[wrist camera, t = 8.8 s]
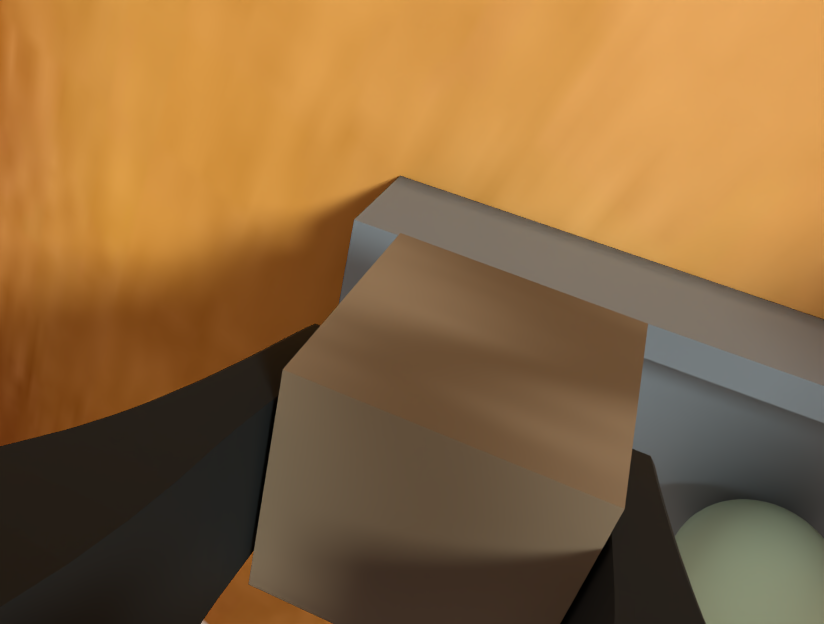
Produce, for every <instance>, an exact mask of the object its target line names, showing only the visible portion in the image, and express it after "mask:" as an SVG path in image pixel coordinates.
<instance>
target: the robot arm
mask: <svg viewBox="0 0 824 624" xmlns="http://www.w3.org/2000/svg"><path fill="white" fill-rule="evenodd" d="M319 327H320V325H317V324H313V325H311V326H309V327H307V328H305V329H303V330H301V331H299V332H297V333H295V334H293V335H291V336H289V337H287V338H285V339H283V340H281V341H279V342H277V343H275V344H273V345H271V346H270V347H268V348H266V349H264V350H262V351H260V352H258V353H256V354H254V355H252V356H250V357H248V358H246V359H244V360H242V361H240V362H238V363H236V364H234V365H231V366H229V367H227V368H225V369H223V370H221V371H219V372H217V373H215V374H213V375H211V376H208V377H206V378H204V379H202V380H200V381H198V382H195V383H193V384H191V385H188V386H186V387H183V388H181V389H179V390H176V391H174V392H172V393H169V394H167V395H164V396H162V397H160V398H157V399H155V400H152V401H150V402H147V403H145V404H142V405H140V406H137V407H134V408H132V409H129V410H126V411H123V412H121V413H118V414H115V415H112V416H109V417H106V418H102V419H99V420H96V421H93V422H90V423H87V424H84V425H81V426H77V427H74V428H70V429H67V430H63V431H59V432H55V433H51V434H48V435H44V436H40V437H36V438H32V439H28V440H24V441H20V442H16V443H12V444H8V445H4V446H0V624H201V622H202V621H203V619H204V618H205V616H206V615H207V614H208V612H209V611H210V609H211V608H212V606H213V605H214V603H215V602H216V600H217V599H218V598H219V596H220V595H221V594H222V592H223V591H224V590H225V588H226V587H227V586H228V584H229V583H230V582H231V580H232V579H233V578H234V576H235V575H236V574H237V572H238V571H239V570H240V568H241V567H242V566H243V564H244V563H245V562H246V560H247V559H248V558H249V556H250V555H251V554H252V552H253V551H254V547H255V541H256V534H257V528H258V522H259V516H260V509H261V503H262V497H263V491H264V484H265V478H266V472H267V465H268V459H269V453H270V447H271V440H272V434H273V428H274V422H275V415H276V409H277V403H278V396H279V390H280V384H281V378H282V371H283V369H284V367H285V366H286V365H287V364H288V363H289V362H290V361H291V359H292V358H293V357H294V356H295V355H296V354H297V352H298V351H299V350H300V349H301V348H302V347H303V345H304V344H305V343H306V342H307V341H308V340H309V338H310V337H311V336H312V335H313V334H314V333H315V332H316V330H317V329H318V328H319ZM560 624H706V622H705V620H704V618H703V615H702V612H701V610H700V607H699V605H698V602H697V599H696V597H695V594H694V592H693V589H692V586H691V583H690V580H689V577H688V574H687V572H686V569H685V566H684V563H683V560H682V557H681V555H680V552H679V549H678V545H677V542H676V539H675V536H674V533H673V530H672V526H671V523H670V520H669V516H668V513H667V510H666V506H665V502H664V499H663V495H662V492H661V488H660V484H659V480H658V476H657V472H656V468H655V464H654V462H653V460H652V458H651V456H650V455H647V454H645V453H642V452H640V451H637V450H635V449H632V455H631V463H630V471H629V478H628V486H627V494H626V502H625V509H624V511H623V513H622V515H621V516H620V518H619V520H618V522H617V523H616V525H615V527H614V529H613V531H612V532H611V534H610V536H609V538H608V539H607V541H606V543H605V545H604V547H603V548H602V550H601V552H600V554H599V556H598V557H597V559H596V561H595V563H594V564H593V566H592V568H591V570H590V572H589V573H588V575H587V577H586V579H585V580H584V582H583V584H582V586H581V588H580V589H579V591H578V593H577V595H576V596H575V598H574V600H573V602H572V604H571V605H570V607H569V609H568V611H567V613H566V614H565V616H564V618H563V620H562V621H561V623H560Z"/></svg>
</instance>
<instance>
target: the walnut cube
mask: <svg viewBox="0 0 824 624" xmlns="http://www.w3.org/2000/svg"><path fill="white" fill-rule="evenodd" d="M647 329H648V323H645V322H642V321H640V320H637V319H634V318H631V317H629V316H626V315H623V314H620V313H618V312H615V311H612V310H609V309H607V308H604V307H601V306H599V305H596V304H593V303H590V302H588V301H585V300H582V299H579V298H577V297H574V296H571V295H569V294H566V293H563V292H560V291H558V290H555V289H552V288H549V287H547V286H544V285H541V284H539V283H536V282H533V281H530V280H528V279H525V278H522V277H519V276H517V275H514V274H511V273H509V272H506V271H503V270H500V269H498V268H495V267H492V266H489V265H487V264H484V263H481V262H479V261H476V260H473V259H470V258H468V257H465V256H462V255H459V254H457V253H454V252H451V251H448V250H446V249H443V248H440V247H438V246H435V245H432V244H429V243H427V242H424V241H421V240H418V239H416V238H413V237H410V236H408V235H405V234H402V233H400V234H399V235H398V236H397V237H396V239H395V240H394V241H393V242H392V243H391V244H390V246H389V247H388V248H387V249H386V250H385V251H384V253H383V254H382V255H381V256H380V257H379V258H378V260H377V261H376V262H375V263H374V264H373V265H372V267H371V268H370V269H369V270H368V271H367V272H366V273H365V275H364V276H363V277H362V278H361V279H360V280H359V282H358V283H357V284H356V285H355V286H354V287H353V289H352V290H351V291H350V292H349V293H348V294H347V296H346V297H345V298H344V299H343V300H342V301H341V302H340V304H339V305H338V306H337V307H336V308H335V309H334V311H333V312H332V313H331V314H330V315H329V316H328V318H327V319H326V320H325V321H324V322H323V323H322V325H321V326H320V327H319V328H318V329H317V330H316V332H315V333H314V334H313V335H312V336H311V337H310V338H309V340H308V341H307V342H306V343H305V344H304V345H303V347H302V348H301V349H300V350H299V351H298V352H297V354H296V355H295V356H294V357H293V358H292V359H291V361H290V362H289V363H288V364H287V365H286V366H285V367H284V369H283V371H282V378H281V384H280V390H279V396H278V403H277V409H276V415H275V422H274V428H273V434H272V440H271V447H270V453H269V459H268V465H267V472H266V478H265V484H264V491H263V497H262V503H261V509H260V516H259V522H258V528H257V534H256V541H255V547H254V553H253V560H252V566H251V572H250V578H249V585H251V586H253V587H255V588H257V589H260V590H262V591H264V592H266V593H268V594H270V595H273V596H275V597H277V598H279V599H281V600H283V601H286V602H288V603H290V604H292V605H294V606H296V607H299V608H301V609H303V610H305V611H307V612H309V613H312V614H314V615H316V616H318V617H320V618H322V619H325V620H327V621H329V622H331V623H333V624H560V623H561V621H562V620H563V618H564V616H565V614H566V613H567V611H568V609H569V607H570V605H571V604H572V602H573V600H574V598H575V596H576V595H577V593H578V591H579V589H580V588H581V586H582V584H583V582H584V580H585V579H586V577H587V575H588V573H589V572H590V570H591V568H592V566H593V564H594V563H595V561H596V559H597V557H598V556H599V554H600V552H601V550H602V548H603V547H604V545H605V543H606V541H607V539H608V538H609V536H610V534H611V532H612V531H613V529H614V527H615V525H616V523H617V522H618V520H619V518H620V516H621V515H622V513H623V511H624V509H625V502H626V494H627V486H628V478H629V471H630V463H631V455H632V447H633V439H634V431H635V423H636V415H637V408H638V400H639V392H640V384H641V376H642V368H643V360H644V352H645V344H646V337H647Z"/></svg>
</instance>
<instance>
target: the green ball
mask: <svg viewBox="0 0 824 624" xmlns="http://www.w3.org/2000/svg"><path fill="white" fill-rule="evenodd" d="M675 539H676V542H677V545H678V549H679V552H680V555H681V557H682V560H683V563H684V566H685V569H686V572H687V574H688V577H689V580H690V583H691V586H692V589H693V592H694V594H695V597H696V599H697V602H698V605H699V607H700V610H701V612H702V615H703V618H704V620H705V622H706V624H824V538H823V537H822V536H821V535H820V534H819V533H818V531H817V530H815V529H814V528H813V527H812V526H811V525H810V524H809V523H807V522H806V521H805V520H804V519H802V518H801V517H799V516H798V515H796V514H794V513H793V512H791V511H789V510H787V509H785V508H783V507H780V506H778V505H775V504H771V503H768V502H764V501H758V500H751V499H736V500H728V501H723V502H719V503H715V504H713V505H710V506H708V507H706V508H704V509H702V510H701V511H699V512H697V513H696V514H694V515H693V516H692V517H690V518H689V519H688V520H687V521H686V522H685V524H684V525H683V526H682V527H681V528H680V529H679V531H678V532H677V534H676V535H675Z"/></svg>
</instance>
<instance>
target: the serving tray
mask: <svg viewBox="0 0 824 624" xmlns="http://www.w3.org/2000/svg"><path fill="white" fill-rule="evenodd" d="M400 233H402V234H405V235H408V236H410V237H413V238H416V239H418V240H421V241H424V242H427V243H429V244H432V245H435V246H438V247H440V248H443V249H446V250H448V251H451V252H454V253H457V254H459V255H462V256H465V257H468V258H470V259H473V260H476V261H479V262H481V263H484V264H487V265H489V266H492V267H495V268H498V269H500V270H503V271H506V272H509V273H511V274H514V275H517V276H519V277H522V278H525V279H528V280H530V281H533V282H536V283H539V284H541V285H544V286H547V287H549V288H552V289H555V290H558V291H560V292H563V293H566V294H569V295H571V296H574V297H577V298H579V299H582V300H585V301H588V302H590V303H593V304H596V305H599V306H601V307H604V308H607V309H609V310H612V311H615V312H618V313H620V314H623V315H626V316H629V317H631V318H634V319H637V320H640V321H642V322H645V323H648V329H647V337H646V344H645V352H644V360H643V368H642V376H641V384H640V392H639V400H638V408H637V415H636V423H635V431H634V439H633V447H632V449H635V450H637V451H640V452H642V453H645V454H647V455H650V456H651V458H652V460H653V462H654V464H655V468H656V472H657V476H658V480H659V484H660V488H661V492H662V495H663V499H664V502H665V506H666V510H667V513H668V516H669V520H670V523H671V526H672V530H673V533H674V536H675V535H676V534H677V532H678V531H679V529H680V528H681V527H682V526H683V525H684V524H685V522H686V521H687V520H688V519H689V518H690V517H692V516H693V515H694V514H696V513H697V512H699V511H701V510H702V509H704V508H706V507H708V506H710V505H713V504H715V503H719V502H723V501H728V500H736V499H751V500H758V501H764V502H768V503H771V504H775V505H778V506H780V507H783V508H785V509H787V510H789V511H791V512H793V513H794V514H796V515H798V516H799V517H801V518H802V519H804V520H805V521H806V522H807V523H809V524H810V525H811V526H812V527H813V528H814V529H815V530H817V531H818V533H819V534H820V535H821V536H822V537H823V538H824V319H821V318H818V317H815V316H812V315H809V314H806V313H803V312H800V311H797V310H794V309H791V308H788V307H785V306H782V305H780V304H777V303H774V302H771V301H768V300H765V299H762V298H759V297H756V296H753V295H750V294H747V293H744V292H741V291H738V290H735V289H732V288H729V287H727V286H724V285H721V284H718V283H715V282H712V281H709V280H706V279H703V278H700V277H697V276H694V275H691V274H688V273H685V272H682V271H679V270H676V269H673V268H671V267H668V266H665V265H662V264H659V263H656V262H653V261H650V260H647V259H644V258H641V257H638V256H635V255H632V254H629V253H626V252H623V251H620V250H618V249H615V248H612V247H609V246H606V245H603V244H600V243H597V242H594V241H591V240H588V239H585V238H582V237H579V236H576V235H573V234H570V233H567V232H564V231H562V230H559V229H556V228H553V227H550V226H547V225H544V224H541V223H538V222H535V221H532V220H529V219H526V218H523V217H520V216H517V215H514V214H511V213H509V212H506V211H503V210H500V209H497V208H494V207H491V206H488V205H485V204H482V203H479V202H476V201H473V200H470V199H467V198H464V197H461V196H458V195H456V194H453V193H450V192H447V191H444V190H441V189H438V188H435V187H432V186H429V185H426V184H423V183H420V182H417V181H414V180H411V179H408V178H405V177H402V176H399V177H398V178H397V179H396V180H395V181H394V182H393V183H392V184H391V185H390V186H389V187H388V188H387V189H386V190H385V191H384V192H383V193H382V194H381V195H380V196H378V197H377V198H376V199H375V200H374V201H373V202H372V203H371V204H370V205H369V206H368V207H367V208H366V209H365V210H364V211H363V212H362V213H361V214H360V215H359V216H357V217H356V218H355V219H354V223H353V229H352V234H351V240H350V246H349V251H348V257H347V262H346V268H345V273H344V279H343V284H342V290H341V295H340V301H339V304H340V302H341V301H342V300H343V299H344V298H345V297H346V296H347V294H348V293H349V292H350V291H351V290H352V289H353V287H354V286H355V285H356V284H357V283H358V282H359V280H360V279H361V278H362V277H363V276H364V275H365V273H366V272H367V271H368V270H369V269H370V268H371V267H372V265H373V264H374V263H375V262H376V261H377V260H378V258H379V257H380V256H381V255H382V254H383V253H384V251H385V250H386V249H387V248H388V247H389V246H390V244H391V243H392V242H393V241H394V240H395V239H396V237H397V236H398V235H399V234H400Z"/></svg>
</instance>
